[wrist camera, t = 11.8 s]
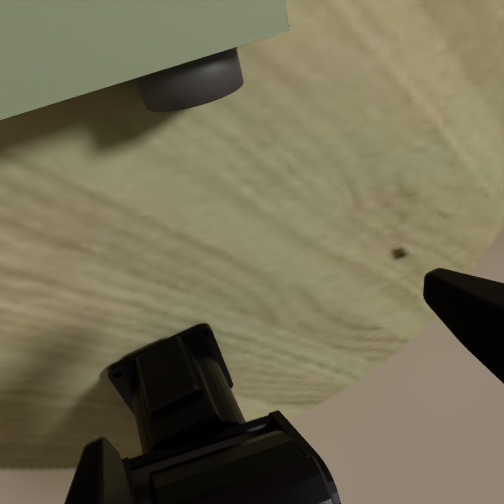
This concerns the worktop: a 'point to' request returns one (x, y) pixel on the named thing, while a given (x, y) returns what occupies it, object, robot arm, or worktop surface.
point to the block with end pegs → (128, 48)
